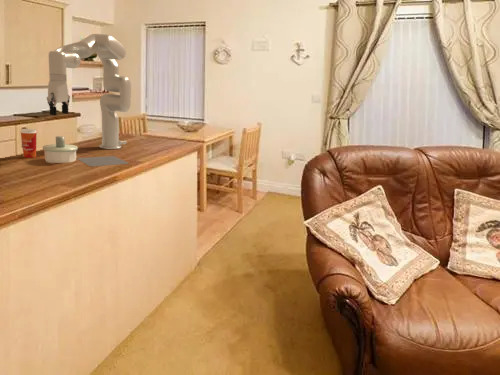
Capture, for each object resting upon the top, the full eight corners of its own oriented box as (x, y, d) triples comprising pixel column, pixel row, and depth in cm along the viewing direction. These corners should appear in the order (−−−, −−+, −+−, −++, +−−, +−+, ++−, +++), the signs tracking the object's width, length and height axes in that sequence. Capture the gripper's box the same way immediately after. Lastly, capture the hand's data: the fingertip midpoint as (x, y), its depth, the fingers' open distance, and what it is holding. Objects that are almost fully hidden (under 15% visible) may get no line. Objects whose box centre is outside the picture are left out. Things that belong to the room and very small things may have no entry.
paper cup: (17, 157, 217) (16, 129, 213) (30, 154, 223) (29, 127, 220) (29, 159, 214) (28, 131, 210) (42, 156, 221) (40, 129, 217)
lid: (71, 145, 226) (71, 134, 224) (82, 151, 214) (82, 139, 213) (38, 146, 215) (38, 134, 214) (48, 152, 204) (47, 140, 202)
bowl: (70, 157, 226) (70, 145, 224) (79, 162, 216) (79, 150, 214) (41, 158, 217) (41, 147, 215) (50, 164, 207) (49, 152, 205)
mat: (113, 156, 235) (113, 155, 235) (129, 164, 220) (129, 163, 220) (76, 159, 222) (76, 158, 222) (90, 167, 207) (90, 166, 207)
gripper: (61, 77, 215) (62, 112, 219) (39, 77, 198) (41, 114, 203) (75, 78, 214) (76, 113, 218) (54, 78, 197) (55, 116, 202)
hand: (59, 114), depth 210 cm, fingers open, 9 cm apart
